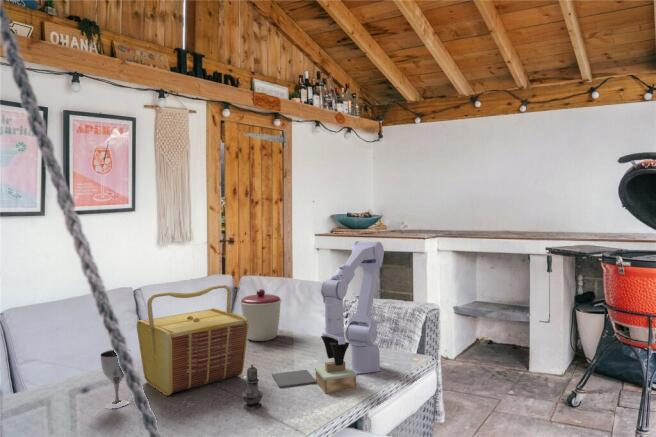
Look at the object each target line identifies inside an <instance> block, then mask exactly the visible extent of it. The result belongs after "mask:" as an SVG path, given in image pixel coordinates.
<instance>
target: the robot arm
mask: <svg viewBox="0 0 656 437" xmlns="http://www.w3.org/2000/svg"><path fill="white" fill-rule="evenodd" d="M384 255H385V250H384V246H383V244H382V242H381V241H359V240H357V241H354V243H353V244H352V246H351V254H350V256H349V257H348V259H347V261H346V263H345V264H340V265H339V267H338V268H337V269H336V270H335V272H334V273H333V274H332V276H331V277H330V278H329V279H326V280H324V281H323V283H322V284H321V289H320V293H321V296H322V300H323V304H324V316H325V317H324V320H325V321H324V326H325V327H324V332H321V336H320V338H321V340H322V342H323V344H324V347H325V352H326V356H327V359H334V360H333V362H334V361H335V365H336V366H339V365H343V361H344V360H345V357H346V356H345V355H346V352H347V350H348V347H349V346H350V365H348V366H349V367H350V368H351V369H352V370H353V371H354V372H356V373H357V375H359V374H360V375H361V374H367V373H374V372H381V370H382V369H381V367H380V364H381V363H380V362H381V361H380V359H381V358H380V348H379V345H378V343H377V342H376V341H377V338H378V337H377V336H378V331H377V329H378V328H377V327H378V323H377V321H376V320H375V319H374V318H373V317H372V310H373V303H374V300H375V299H374V298H375V291H376V287H377V286H376V285H377V280H378V275H379V269H380V268H382V265H383V262H384ZM358 267H361V268H362V270H363V272H362V278H361V283H360V289H359V294H358V301H357V307H356V312H355V314H354V315H352V316H351V317H349V318H348V322H347V325H346V327H345V326H344V325H345V324H344V298H346V296H347V293H348V288H349V285H350V283H351V282H352V280H353V279H354V277H355V271H356V269H357V268H358ZM344 327H345V329H344ZM344 362H345V361H344Z"/></svg>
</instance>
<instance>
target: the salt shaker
mask: <svg viewBox="0 0 656 437" xmlns="http://www.w3.org/2000/svg"><path fill="white" fill-rule="evenodd" d="M246 378H247V379H246V380H245V382H246V387H247V388H246V390H245V391H244V392H243V393H241V394H242V395H241V396H242V397H243V401H244V402H245V404H244V405H243V409H244V410H247V411H255V410H259V409H261V408H262V407H263V403H262V402H261V401H262V398H263V396H264V392H263V391H262V390H259V381H260V380H259V378H258V368H256V367H255V366H254V364H250V367H248V368H247V370H246Z"/></svg>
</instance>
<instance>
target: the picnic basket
mask: <svg viewBox="0 0 656 437" xmlns="http://www.w3.org/2000/svg"><path fill="white" fill-rule="evenodd" d="M217 289H226V292H227V294H226V295H227V297H226V310H223V309H220V308H216V307H212V308H210V309H209V308H208V309H204V310H197V311H191V312H185V313H180V314H173V315H169V316H168V315H167V316H162V317H156V318H154V314H153V306H152V305H153V304H152V303H153V300H154V299H156V298H159V297H165V296H166V297H168V296H169V297H173V298H176V299H177V298H178V299H179V298H180V299H188V298H195V297H196V298H197V297H201V296H202V295H206V294H208V293H210V292H211V291H213V290H217ZM231 302H232V290H231V287H230V286H228V285H226V284H221V285H215V286H210V287H207V288H203V289H201V290H199V291H198V290H197V291H193V292H186V293H185V292H184V293H183V292H170V291H169V292H159V293H154V294H152V295H151V296H150V297H149V298H148V299H147V303H146V306H147V315H148V319H139V320H137V322H136V333H137V339H138V344H139V345H138V346H139V352H140V357H141V365H142V373H143V376H144V379H145V381H146V383H147V384H148V385H149V386H151V387H153V389H155V388H156V389H155V390H157V391H158V392H160V393H161V392H162V393H161V394H163V395H164V396H170V395H172V394H173V393H177V392H182V391H185V390H189V389H192V388H196V387H200V386H203V385H207V384H210V383H214V382H217V381H221V380H225V379H228V378H229V379H230V378H232V377H233V378H234V377H240V376H242V374H243V373H244V372H243V371H244V366H245V357H246V350H247V342H248V338H247V335H248V320H247V319H246V318H245V317H244V316H243V315H240V314H237V313H232V312H231Z"/></svg>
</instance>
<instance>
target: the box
mask: <svg viewBox="0 0 656 437" xmlns="http://www.w3.org/2000/svg"><path fill="white" fill-rule="evenodd" d="M315 380H316V381H317V383H316V385H318V387H319V388H320V389H321V390H322V392H323V393H324V394H330V393H337V392H345V391H352V390H357V376H355V377H347V378H339V379H332V380H324V379H323V378H322V377H321V376H320V375H319V374H318V373H317V372H316V371H315Z"/></svg>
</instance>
